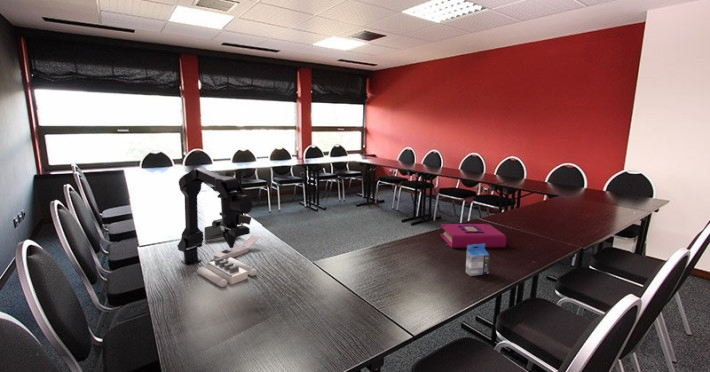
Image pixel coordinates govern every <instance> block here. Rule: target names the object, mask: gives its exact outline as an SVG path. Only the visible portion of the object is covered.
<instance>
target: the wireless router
mask: <svg viewBox="0 0 710 372" xmlns="http://www.w3.org/2000/svg"><path fill="white" fill-rule="evenodd" d="M243 215H246V216H247V214H243ZM241 225H245V224H244V223H241ZM241 225H240V226H241ZM220 230H221V227H220V226H218V227H217V228H216V229H215V228H213V227H212V225H208V226H205V227H204V240H205V241H207V242H209V243H210V242H217V241H226V240H225V239H224V237H223V236H222V234H221V233H220V232H219V231H220Z"/></svg>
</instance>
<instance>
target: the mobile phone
mask: <svg viewBox="0 0 710 372" xmlns="http://www.w3.org/2000/svg"><path fill="white" fill-rule="evenodd" d="M260 238H261V237H260V236H259V235H254V234H252V235H251V236H250V237H249V238H248V239H247V240H246V241H245V242H244V243H243V244H242V245H238V246H234V247H233V248H229V249H224V250H222V251H219V252H217V253H215V254H214V255H213V258H210V260H209V262H213V261H214V259H217V258H221V257H222V258H224V260H228V258H230V257H231V258H234V259H235V258H236V257H238V256H241V255H244V254H246V253H249V249H250V248H251V247H253V246H254V244H255V243H257V241H259V240H260Z"/></svg>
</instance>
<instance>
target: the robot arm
mask: <svg viewBox="0 0 710 372" xmlns="http://www.w3.org/2000/svg"><path fill="white" fill-rule="evenodd" d="M204 182H205V183H207V184H209V185H211V186H213V187H214V190H215V191H217V192H218V193H219V194H218V195H217V198H218V199H220V207H221V209H220V210H221V212H219V216H221V218H218V219H213V221H211V222H212V223H211V226H212V227H213V228H215V229H216V228H217V227H218V226H220V227H221V230H220V231H219V232H220V233H221V234H222V236H223V237H224V239H225V240H224V241H225V243H226V244H227V246H228V247H229V249H232V248H235V243H236V239H237V238H238V237H242V236H245V235H250V234H251V231H250V227H248V226H246V225H249V226H250V225H251V221H252V216H250V215H247V214H249V213H250V212H251V211H252V210H253V202H252V201H251V199H249V198H248V195H245V192H244V189H243V187H242V186H241V185H240V182H239V180H238V179H237V177H234V176H224V175H220V174H218V173H216V172H213V171H211V170H209V169H207V168H206V167H195V168H192V169H191V170H190V171H189V172H187V173H185V174H183V175H182V176H181V177H180V178H179V180H178V186H179V190H180V192H181V193H182V195H183V196H184V216H185V217H184V218H185V219H184V220H185V224H184V226H185V227H184V229H183V231H182V233H181V237H180V238H181V240H180V241H179V243H178V244H177V249H178V251H180V252H182V253H183V259H181V261H180V262H182V263H183V264H185V266H186V265H187V266H189V265H192V264H196V263H200V262H202V259H201V258H199V251H198V249H199V248H202V247H203V241H204V240H205V238H204V232H203V231H201V230H202V229H200V227H199V216H198V195H199V194H200V193H201V192H200V191H201V190H202V184H203V183H204ZM244 214H246V215H244ZM242 223H244V224H243V225H241V224H242ZM245 224H246V225H245Z"/></svg>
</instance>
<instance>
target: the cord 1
mask: <svg viewBox="0 0 710 372" xmlns="http://www.w3.org/2000/svg"><path fill="white" fill-rule="evenodd" d="M197 273H198V274H199V275H200V276H202V277H204V278H206V280H208V281H210V282H212V283H214V284H215V285H217V286H219V287H220V288H225V287H226V286H227V284H228V282H227V281H226V280H225V279H223V278H222V277H220V276H218V275H216V274H215V273H213V272H211V271H210V270H208V269H207V267H204V266H199V267H198V269H197Z"/></svg>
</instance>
